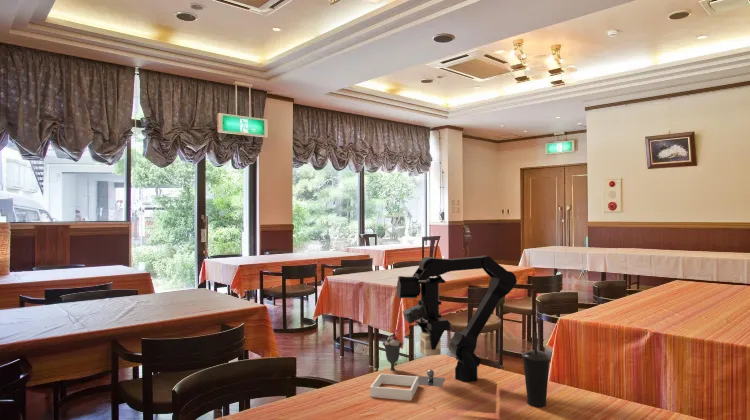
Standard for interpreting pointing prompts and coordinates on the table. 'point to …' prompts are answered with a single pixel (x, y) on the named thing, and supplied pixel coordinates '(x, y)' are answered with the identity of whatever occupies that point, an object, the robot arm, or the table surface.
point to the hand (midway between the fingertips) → (430, 347)
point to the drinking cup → (536, 375)
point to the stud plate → (431, 380)
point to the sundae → (392, 349)
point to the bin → (394, 392)
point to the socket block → (428, 345)
